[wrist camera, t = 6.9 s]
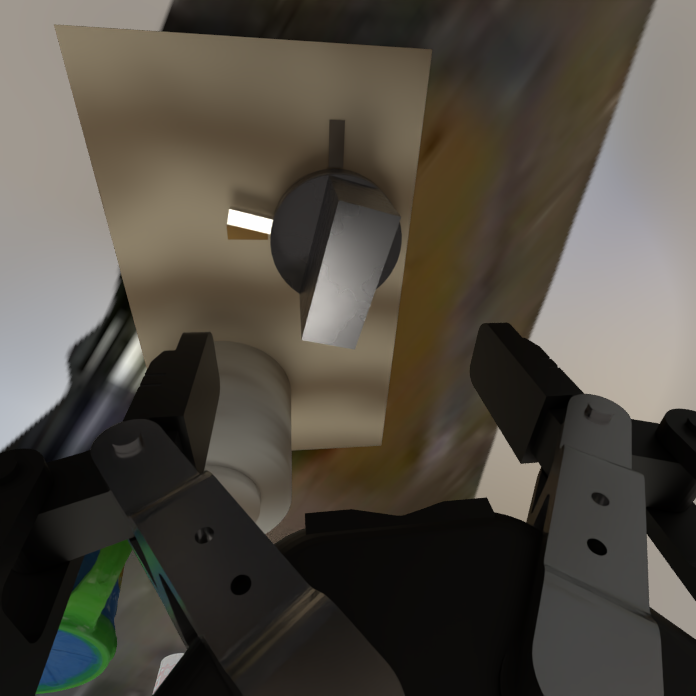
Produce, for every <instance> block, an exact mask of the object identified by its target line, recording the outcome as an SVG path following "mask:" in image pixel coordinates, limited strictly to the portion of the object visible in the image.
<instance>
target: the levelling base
mask: <svg viewBox="0 0 696 696" xmlns="http://www.w3.org/2000/svg"><path fill="white" fill-rule="evenodd" d="M54 26H55V30H56V34H57V38H58V42H59V45H60V49H61V53H62V56H63V60H64V64H65V67H66V71H67V75H68V79H69V82H70V86H71V90H72V93H73V97H74V101H75V104H76V108H77V112H78V115H79V119H80V123H81V126H82V130H83V134H84V137H85V141H86V145H87V149H88V152H89V156H90V160H91V164H92V167H93V171H94V174H95V178H96V182H97V186H98V189H99V193H100V196H101V200H102V204H103V208H104V211H105V215H106V219H107V222H108V226H109V230H110V234H111V238H112V241H113V244H114V249H115V252H116V256H117V260H118V263H119V267H120V271H121V275H122V278H123V282H124V286H125V289H126V293H127V297H128V300H129V304H130V308H131V312H132V315H133V319H134V323H135V326H136V330H137V334H138V337H139V341H140V345H141V349H142V352H143V356H144V360H145V363H146V367H147V369H148V367H149V365H150V363H151V361H152V360H153V359H155V358H156V357H157V356H158V355H159V354H161V353H162V352H163V351H167V350H176V348H177V345H178V343H179V340H180V338H181V335H182V333H184V332H211V333H212V336H213V340H214V346H215V353H216V359H217V365H218V371H219V377H220V396H219V401H218V406H217V411H216V416H215V421H214V425H213V430H212V435H211V440H210V445H209V449H208V454H207V459H206V464H205V469H204V471H205V470H207V471H209V472H211V473H212V474H213V475H214V476H215V477H216V478H217V479H218V481H219V482H220V483H221V484H222V485H223V486H224V487H225V489H226V490H227V491H228V492H229V493H230V494H231V496H232V497H233V498H234V499H235V500H236V501H237V502H238V504H239V505H240V506H241V507H242V508H243V509H244V511H245V512H246V513H247V514H248V515H249V516H250V517H251V519H252V520H253V521H254V522H255V523H256V524H257V526H258V527H259V528H260V529H261V530H262V531H263V532H264V534H266V533H267V532H269V531H271V530H272V529H273V528H274V527H276V526H277V525H278V524H279V523H280V522H281V521H282V520H283V518H284V517H285V516H286V514H287V512H288V510H289V508H290V504H291V499H292V455H291V450H308V449H326V448H344V447H362V446H380V445H381V443H382V435H383V427H384V420H385V412H386V404H387V396H388V389H389V381H390V373H391V366H392V358H393V350H394V342H395V335H396V327H397V319H398V311H399V304H400V296H401V288H402V280H403V273H404V265H405V257H406V249H407V242H408V234H409V226H410V218H411V211H412V203H413V195H414V188H415V180H416V172H417V164H418V157H419V149H420V141H421V133H422V126H423V118H424V110H425V102H426V95H427V87H428V79H429V71H430V64H431V56H432V49H417V48H402V47H387V46H372V45H356V44H341V43H326V42H311V41H296V40H281V39H266V38H251V37H236V36H221V35H206V34H190V33H175V32H160V31H144V30H129V29H115V28H99V27H84V26H70V25H54ZM334 168H336V169H345V170H350V171H354V172H356V173H359V174H361V175H363V176H365V177H367V178H368V179H370V180H371V181H372V182H374V183H375V184H376V185H377V186H378V187H379V188H380V189H381V190H382V192H383V193H384V194H385V195H386V197H387V198H388V199H389V201H390V202H391V203H392V205H393V207H394V208H395V209H396V211H397V212H398V213H399V215H400V216H401V219H400V225H401V232H402V244H401V251H400V255H399V258H398V261H397V263H396V265H395V268H394V269H393V271H392V273H391V274H390V276H389V277H388V278H387V279H386V281H385V282H384V283H383V284H382V285H381V286H380V287H378V288H377V289H376V291H375V293H374V296H373V299H372V302H371V305H370V308H369V311H368V313H367V316H366V319H365V322H364V325H363V328H362V331H361V333H360V336H359V339H358V342H357V345H356V348H355V350H354V349H349V348H343V347H337V346H332V345H326V344H321V343H315V342H309V341H304V340H301V318H300V297H299V293H298V292H296V291H295V290H293V289H292V288H291V287H290V286H289V285H288V284H287V283H286V282H285V281H284V279H283V278H282V277H281V275H280V274H279V272H278V270H277V268H276V266H275V264H274V261H273V257H272V253H271V247H270V236H271V233H270V234H267V233H263V232H259V231H255V230H251V229H247V228H242V227H238V226H234V225H230V224H227V222H228V214H229V208H230V206H235V207H239V208H243V209H247V210H251V211H255V212H259V213H263V214H267V215H271V216H273V215H274V212H275V209H276V207H277V204H278V202H279V201H280V199H281V197H282V196H283V194H284V193H285V192H286V191H287V189H288V188H289V187H291V186H292V185H293V184H294V183H295V182H296V181H298V180H299V179H300V178H302V177H304V176H306V175H308V174H310V173H313V172H315V171H319V170H324V169H334Z"/></svg>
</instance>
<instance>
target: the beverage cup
mask: <svg viewBox="0 0 696 696" xmlns="http://www.w3.org/2000/svg"><path fill="white" fill-rule="evenodd" d="M183 655H184V653H178V654H173V655H169V656H167V657H165V658H164V659H163V660H162V662H161V665H160V669H159V673H158V676H157V680H156V684H155V687H154V691H153V694H154V692H155V691H156V690H157V689H158V687H159V686H160V685H161V683H162V682H163V681H164V679H165V678H166V677H167V676H168V674H169V673H170V672H171V670H172V669H173V668H174V666H175V665H176V664H177V662H178V661H179V660H180V659H181V657H182V656H183Z"/></svg>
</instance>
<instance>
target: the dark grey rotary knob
mask: <svg viewBox="0 0 696 696" xmlns="http://www.w3.org/2000/svg"><path fill="white" fill-rule="evenodd" d="M400 219H401V216H400V215H399V213H398V212H397V211H396V209H395V208H394V207H393V205H392V203H391V202H390V201H389V199H388V198H387V197H386V195H385V194H384V193H383V192H382V190H381V189H380V188H379V187H378V186H377V185H376V184H375V183H374V182H372V181H371V180H370V179H368V178H367V177H365V176H363V175H361V174H359V173H356V172H354V171H350V170H345V169H336V168H334V169H324V170H319V171H315V172H313V173H310V174H308V175H306V176H304V177H302V178H300V179H299V180H298V181H296V182H295V183H294V184H293V185H292V186H291V187H289V188H288V189H287V191H286V192H285V193H284V194H283V196H282V197H281V199H280V201H279V202H278V204H277V207H276V209H275V212H274V215H273V216H271V215H267V214H263V213H259V212H255V211H251V210H247V209H243V208H239V207H235V206H230V208H229V214H228V222H227V224H230V225H234V226H238V227H242V228H247V229H251V230H255V231H259V232H263V233H267V234H270V233H271V236H270V247H271V253H272V257H273V261H274V264H275V266H276V268H277V270H278V272H279V274H280V275H281V277H282V278H283V279H284V281H285V282H286V283H287V284H288V285H289V286H290V287H291V288H292V289H293V290H295V291H296V292H298V293H299V297H300V318H301V340H304V341H309V342H315V343H321V344H326V345H332V346H337V347H343V348H349V349H354V350H355V348H356V345H357V342H358V339H359V336H360V333H361V331H362V328H363V325H364V322H365V319H366V316H367V313H368V311H369V308H370V305H371V302H372V299H373V296H374V293H375V291H376V289H377V288H378V287H380V286H381V285H382V284H383V283H384V282H385V281H386V279H387V278H388V277H389V276H390V274H391V273H392V271H393V269H394V268H395V265H396V263H397V261H398V258H399V255H400V251H401V244H402V232H401V225H400Z"/></svg>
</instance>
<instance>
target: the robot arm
mask: <svg viewBox="0 0 696 696" xmlns="http://www.w3.org/2000/svg"><path fill="white" fill-rule="evenodd" d="M470 377H471V381H472V384H473V386H474V388H475V389H476V391H477V393H478V394H479V396H480V397H481V399H482V401H483V402H484V404H485V406H486V407H487V409H488V411H489V412H490V414H491V416H492V417H493V419H494V420H495V422H496V424H497V425H498V427H499V429H500V430H501V432H502V434H503V435H504V437H505V439H506V440H507V442H508V443H509V445H510V447H511V448H512V450H513V452H514V453H515V455H516V457H517V458H518V460H519V461H520V463H521V464H523V463H535V462H539V464H540V465H541V469H540V471H539V474H538V476H537V480H536V484H535V489H534V493H533V497H532V501H531V505H530V509H529V513H528V518H527V522H524V521H522V520H519V519H516V518H514V517H511V516H508V515H504V514H499V513H495V512H494V511H493V509H492V507H491V505H490V503H489V501H488V499H487V498H476V499H465V500H454V501H444V502H441V503H438V504H435V505H432V506H430V507H427V508H424V509H421V510H418V511H415V512H413V513H410V514H407V515H403V516H395V515H388V514H381V513H373V512H366V511H359V510H352V509H350V510H339V511H328V512H316V513H305V527H306V528H305V529H302V530H299V531H297V532H295V533H292V534H290V535H288V536H286V537H285V538H283V539H282V540H280V541H278V542H277V543H275V544H273V543H272V542H271V541H270V539H269V538H268V537H267V536H266V535H265V534H264V532H263V531H262V530H261V529H260V528H259V527H258V526H257V524H256V523H255V522H254V521H253V520H252V519H251V517H250V516H249V515H248V514H247V513H246V512H245V511H244V509H243V508H242V507H241V506H240V505H239V504H238V502H237V501H236V500H235V499H234V498H233V497H232V496H231V494H230V493H229V492H228V491H227V490H226V489H225V487H224V486H223V485H222V484H221V483H220V482H219V481H218V479H217V478H216V477H215V476H214V475H213V474H212V473H211V472H209V471H207V470H205V471H204V469H205V464H206V459H207V454H208V449H209V445H210V440H211V435H212V430H213V425H214V421H215V416H216V411H217V406H218V401H219V396H220V377H219V371H218V365H217V359H216V353H215V346H214V340H213V336H212V333H211V332H184V333H182V335H181V338H180V340H179V343H178V345H177V348H176V350H167V351H163V352H162V353H161V354H159V355H158V356H157V357H156V358H155V359H153V360H152V361H151V363H150V365H149V367H148V369H147V371H146V373H145V376H144V377H143V380H142V382H141V384H140V387H139V388H138V390H137V392H136V394H135V396H134V399H133V401H132V403H131V405H130V407H129V409H128V411H127V413H126V415H125V418H124V420H123V422H121V423H118V424H116V425H114V426H112V427H110V428H108V429H106V430H105V431H104V432H102V433H101V434H100V435H99V436H98V437H97V438H96V439H95V441H94V442H93V444H92V446H91V450H88V451H86V452H83V453H80V454H76V455H73V456H69V457H66V458H62V459H59V460H55V461H52V462H48V463H46V462H45V460H44V458H43V456H42V455H41V454H40V453H39V452H37V451H35V450H32V449H15V450H10V451H6V452H3V453H0V696H35V694H36V691H37V688H38V685H39V682H40V680H41V677H42V674H43V671H44V668H45V666H46V663H47V660H48V657H49V654H50V651H51V649H52V646H53V643H54V640H55V637H56V635H57V632H58V629H59V626H60V623H61V620H62V618H63V615H64V612H65V609H66V606H67V604H68V601H69V598H70V595H71V592H72V589H73V587H74V584H75V581H76V578H77V575H78V573H79V570H80V567H81V564H82V561H83V558H84V556H85V555H86V554H89V553H92V552H94V551H97V550H100V549H102V548H105V547H108V546H111V545H113V544H116V543H119V542H121V541H124V540H128V542H129V544H130V546H131V547H132V549H133V551H134V553H135V554H136V556H137V558H138V560H139V561H140V563H141V565H142V567H143V568H144V570H145V572H146V574H147V575H148V577H149V579H150V581H151V582H152V584H153V586H154V588H155V589H156V591H157V593H158V595H159V597H160V598H161V600H162V602H163V604H164V606H165V608H166V610H167V612H168V614H169V616H170V618H171V620H172V622H173V624H174V626H175V628H176V630H177V632H178V634H179V635H180V637H181V639H182V641H183V643H184V644H185V646H186V648H187V651H186V652H185V653H184V655H183V656H182V657H181V659H180V660H179V661H178V662H177V664H176V665H175V666H174V668H173V669H172V670H171V672H170V673H169V674H168V676H167V677H166V678H165V679H164V681H163V682H162V683H161V685H160V686H159V687H158V689H157V690H156V691H155V692H154V694H153V695H152V696H696V639H694V638H693V637H691V636H690V635H689V634H687V633H686V632H684V631H683V630H682V629H680V628H679V627H677V626H676V625H674V624H673V623H672V622H670V621H669V620H667V619H666V618H664V617H663V616H662V615H660V614H659V613H657V612H656V611H655V610H653V609H652V608H650V607H649V589H648V588H649V586H648V559H647V534H648V536H649V537H650V539H651V540H652V542H653V543H654V544H655V546H656V547H657V549H658V550H659V551H660V552H661V554H662V555H663V557H664V558H665V560H666V561H667V562H668V563H669V565H670V566H671V568H672V569H673V570H674V572H675V573H676V575H677V576H678V577H679V579H680V580H681V581H682V583H683V584H684V586H685V587H686V588H687V590H688V591H689V593H690V594H691V595H692V597H693V598H694V599H695V601H696V505H695V504H694V503H693V501H694V500H695V498H696V411H692V410H686V409H672V410H669V411H668V412H667V413H666V414H665V416H664V418H663V419H662V421H661V423H660V424H658V423H652V422H646V421H640V420H634V419H631V418H630V416H629V414H628V413H627V412H626V411H625V410H624V409H623V408H622V407H620V406H619V405H618V404H616V403H614V402H613V401H610V400H608V399H606V398H603V397H600V396H596V395H591V394H584V393H583V392H582V391H581V390H580V389H579V388H578V387H577V386H576V385H575V383H574V382H573V381H572V380H571V379H570V378H569V377H568V376H567V375H566V374H565V373H564V372H563V371H562V370H561V369H560V368H558V367H557V364H556V363H555V362H554V361H553V360H552V359H549V356H548V355H547V354H546V353H545V352H544V351H543V350H542V348H540V346H538V345H536V344H534V343H533V342H531V341H529V340H528V339H526V338H522V337H521V336H520V335H519V333H518V332H517V331H516V330H515V329H514V328H513V327H512V326H511V325H510V324H509V323H484V324H482V325H481V326H480V328H479V331H478V335H477V339H476V344H475V348H474V352H473V356H472V360H471V365H470Z"/></svg>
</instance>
